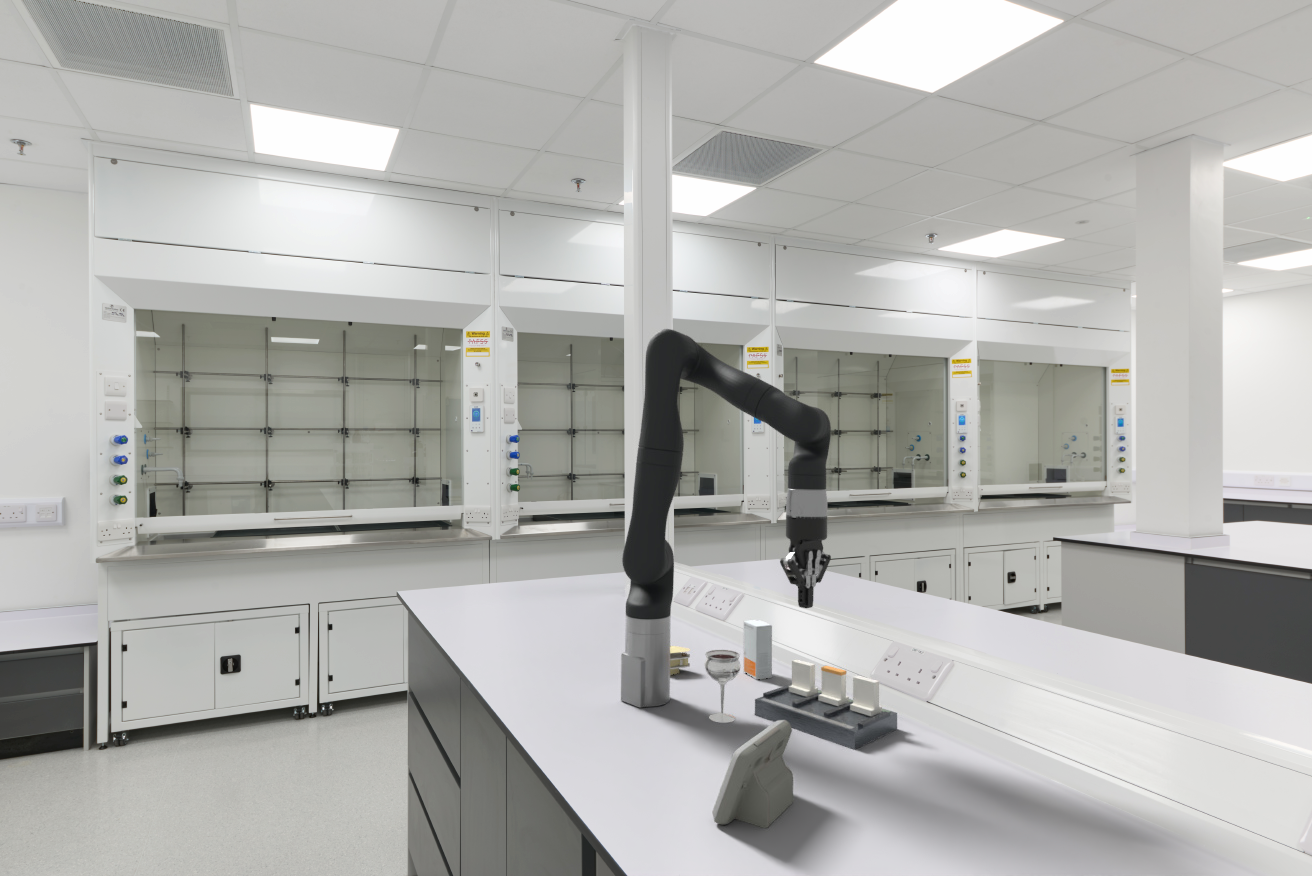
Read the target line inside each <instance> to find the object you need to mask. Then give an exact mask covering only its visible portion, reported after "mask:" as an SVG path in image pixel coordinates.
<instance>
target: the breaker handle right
mask: <svg viewBox="0 0 1312 876" xmlns="http://www.w3.org/2000/svg"><path fill="white" fill-rule="evenodd" d="M852 700H853V704H850V710H852V711H855V712H858V713H862V714H865V715H868V716H874V715H876V714H878V713H881V712H882V709H883V706H881V705H880V681H879V680H875V679H873V678H869V677H865V676H860V675H855V676H852Z"/></svg>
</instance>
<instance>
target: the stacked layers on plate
mask: <svg viewBox="0 0 1312 876" xmlns="http://www.w3.org/2000/svg"><path fill="white" fill-rule="evenodd" d="M690 651H691V649H690V648H688V647H683V646H677V645H670V676H673V674H674V675H677V673H678V674H680V669H683V668H690V666H691V665H690V662H689V659H690V658H691V655H690V654H689V653H687V652H690Z"/></svg>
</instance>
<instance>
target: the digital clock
mask: <svg viewBox="0 0 1312 876" xmlns="http://www.w3.org/2000/svg"><path fill="white" fill-rule="evenodd" d="M792 732H793V728H791V726H790V724H789V723H788V722H787V721H786V720H778V721H776V722H774V721H773V723H772V724H770V725H768V727H765V729H763V730H762V731H760V732H759V733H757V734H756V735H755V736H753V737H752V738H750V739H749V740H748V741H746V742H745V743H744V744H742V745H741V746H739V747H738V748H737V749H736V750H735V751H734V752H733V754H732V757H731V760H730V761H729V764H728V768H727V769H726V773H725V775H724V779H723V781H722V784H721V787H720V789H719V792H718V795H717V796H716V800H715V803H714V806H713V810H712V817H713V820H714V823H716V824H718V825H728V824H730V823H731V822H732V821H733V820H734V819H736V820H738V821H742V822H745V823H748V824H750V825H751V824H752V825H754V826H758V827H761V828H764V829H768V828H769V827H770V826H771V825H772V824H773V823H774V821H776V820H777V819H778V818H779V817H780V816H781V815H782V814H783V813H784V812H785V811H786V810H787V809H788V808H789V807H790V806H791V805H792V804H793V802H794V774H793V772H792V770H791V769H790V768H789V767H788V766H787V765H786V763H785V761H784V759H783V756H784V753H785V751H786V749H787V746H788V744H789V742H790V741H789V740H790V737H791V735H792Z"/></svg>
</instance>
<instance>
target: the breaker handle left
mask: <svg viewBox="0 0 1312 876" xmlns="http://www.w3.org/2000/svg"><path fill="white" fill-rule="evenodd" d="M791 684H792V685H791V686H789V692H792V693H796V694H799V695H802V696H806V697H808V696H811V695H814V694H817V693H818V690H819V687H817V686H816V664H815V663H812V662H808V661H803V660H799V659H795V660H791Z"/></svg>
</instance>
